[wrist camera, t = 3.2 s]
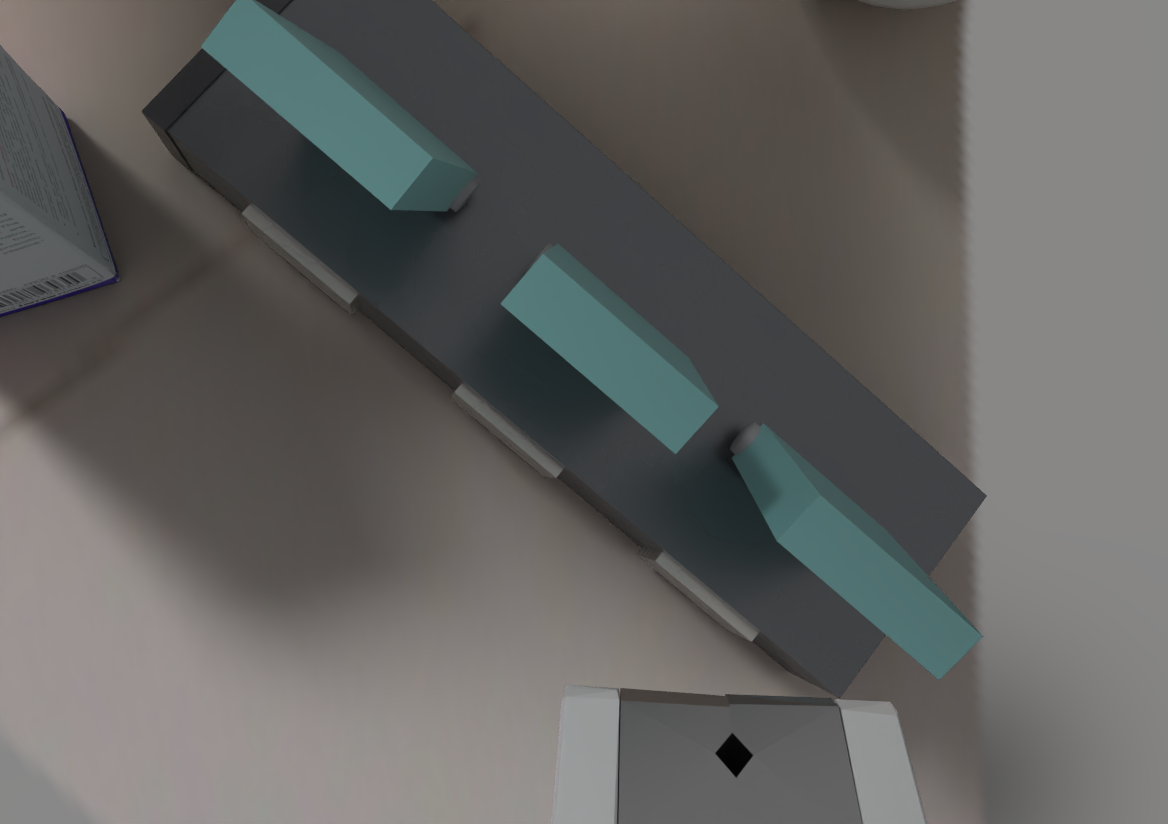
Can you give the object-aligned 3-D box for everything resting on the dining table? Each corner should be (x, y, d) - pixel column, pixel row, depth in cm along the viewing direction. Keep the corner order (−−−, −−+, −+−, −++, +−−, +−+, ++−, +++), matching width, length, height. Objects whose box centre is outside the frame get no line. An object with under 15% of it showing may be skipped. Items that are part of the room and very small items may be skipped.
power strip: (165, 161, 33) (133, 118, 29) (341, -23, 34) (335, -89, 30) (783, 680, 36) (834, 707, 32) (923, 491, 37) (989, 494, 33)
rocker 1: (309, 90, 29) (192, 40, 21) (339, 51, 29) (234, -16, 21) (454, 215, 30) (398, 216, 22) (485, 178, 30) (440, 164, 21)
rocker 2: (522, 274, 30) (493, 297, 22) (553, 238, 30) (535, 247, 22) (660, 393, 31) (682, 460, 23) (691, 358, 31) (725, 412, 22)
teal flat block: (724, 449, 31) (769, 535, 23) (756, 414, 31) (813, 489, 23) (854, 561, 32) (945, 685, 23) (885, 528, 32) (989, 641, 23)
